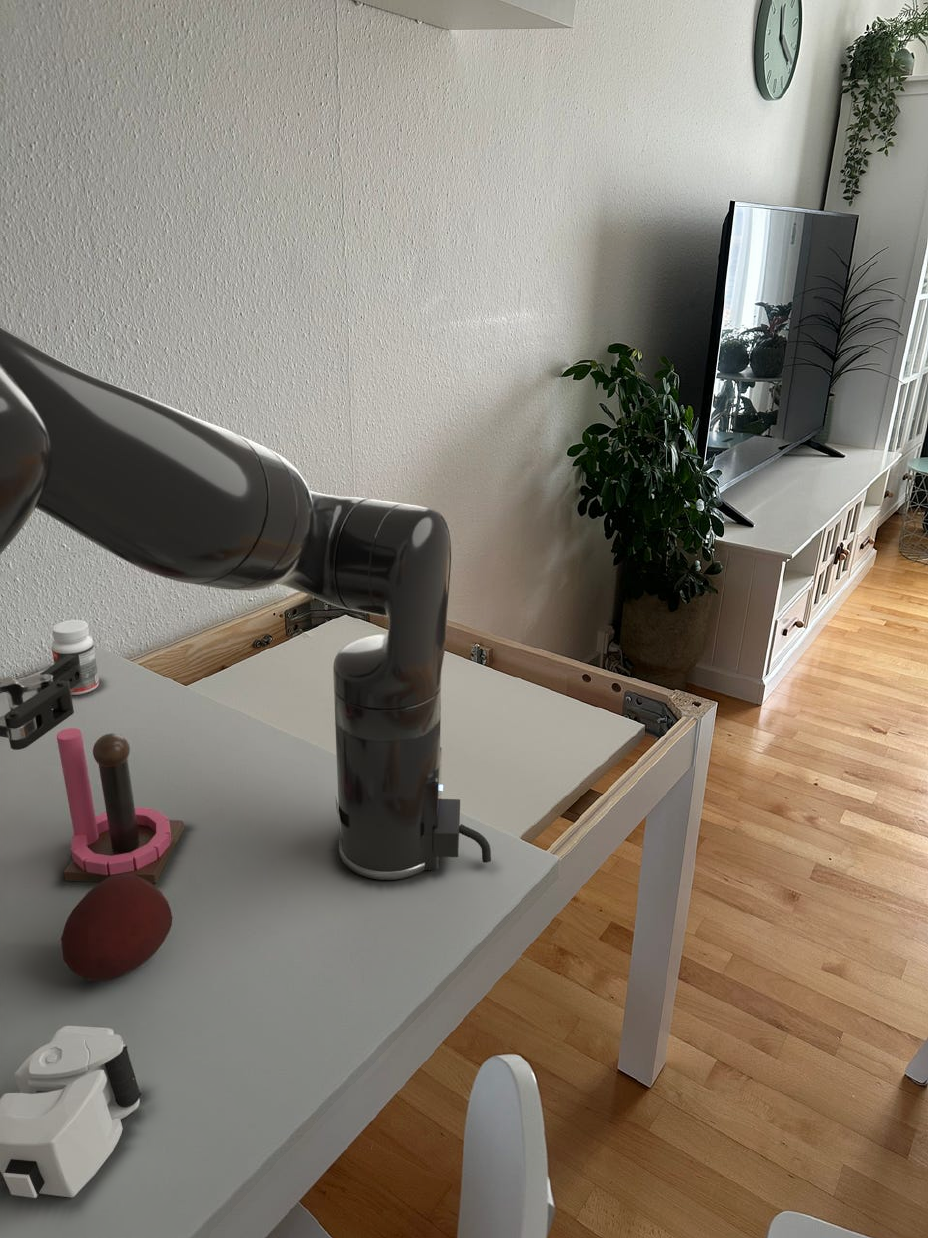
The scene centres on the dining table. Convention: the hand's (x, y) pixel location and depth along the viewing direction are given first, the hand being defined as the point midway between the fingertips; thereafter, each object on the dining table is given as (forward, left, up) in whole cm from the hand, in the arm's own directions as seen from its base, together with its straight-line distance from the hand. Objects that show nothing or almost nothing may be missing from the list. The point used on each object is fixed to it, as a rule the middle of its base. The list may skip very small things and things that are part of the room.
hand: (27, 660), depth 71 cm
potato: (-10, +10, -21) cm, 25 cm away
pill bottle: (+14, -35, -21) cm, 43 cm away
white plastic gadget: (-12, +20, -18) cm, 29 cm away
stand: (-4, -3, -21) cm, 22 cm away
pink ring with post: (-4, -3, -20) cm, 21 cm away
